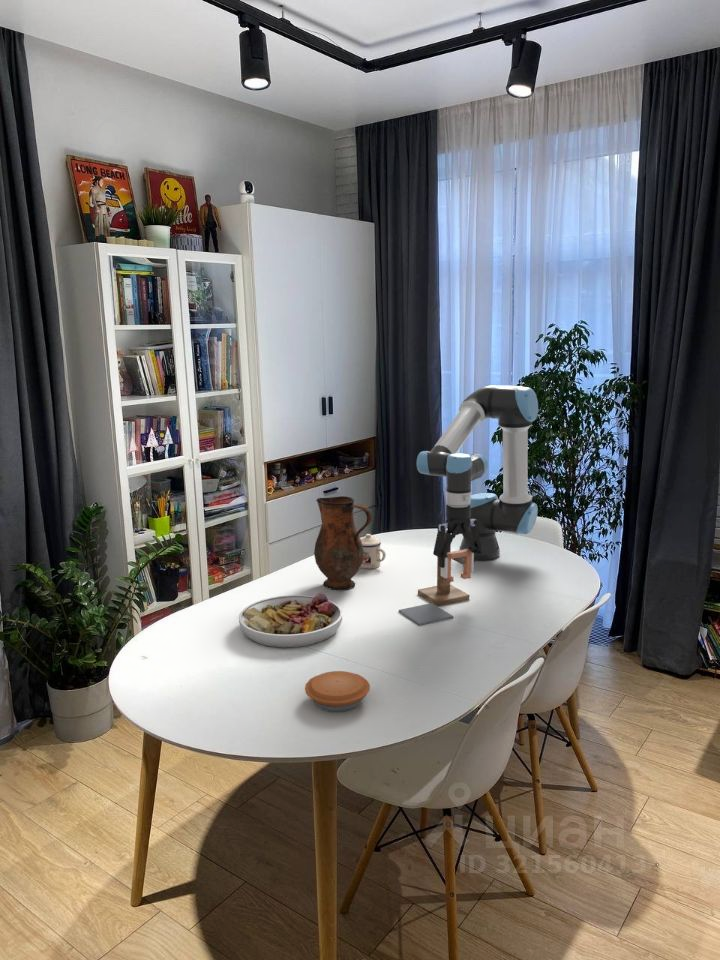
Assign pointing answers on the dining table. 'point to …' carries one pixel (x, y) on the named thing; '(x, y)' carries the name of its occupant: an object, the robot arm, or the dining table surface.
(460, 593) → the hook stand
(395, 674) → the dining table surface
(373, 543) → the teacup with lid
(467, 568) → the c link
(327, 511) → the pitcher
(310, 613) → the bowl
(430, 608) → the coaster
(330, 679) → the pie
